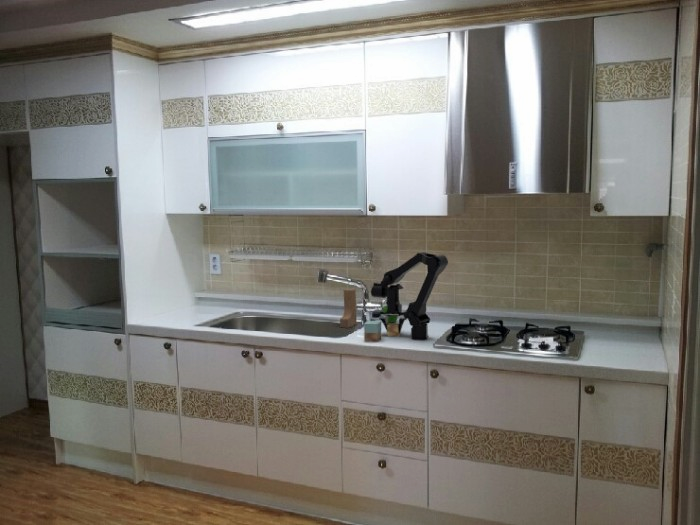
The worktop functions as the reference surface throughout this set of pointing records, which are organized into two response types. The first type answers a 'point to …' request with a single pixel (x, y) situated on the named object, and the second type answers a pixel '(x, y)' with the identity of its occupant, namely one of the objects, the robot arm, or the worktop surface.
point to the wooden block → (349, 309)
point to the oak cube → (393, 329)
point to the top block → (372, 327)
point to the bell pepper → (390, 318)
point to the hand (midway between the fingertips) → (394, 332)
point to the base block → (372, 337)
